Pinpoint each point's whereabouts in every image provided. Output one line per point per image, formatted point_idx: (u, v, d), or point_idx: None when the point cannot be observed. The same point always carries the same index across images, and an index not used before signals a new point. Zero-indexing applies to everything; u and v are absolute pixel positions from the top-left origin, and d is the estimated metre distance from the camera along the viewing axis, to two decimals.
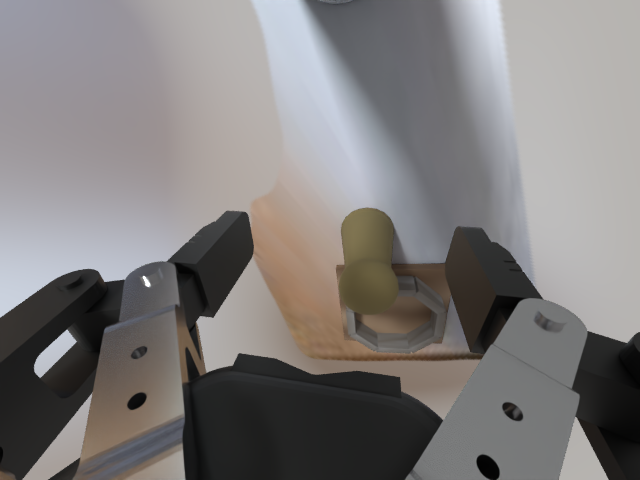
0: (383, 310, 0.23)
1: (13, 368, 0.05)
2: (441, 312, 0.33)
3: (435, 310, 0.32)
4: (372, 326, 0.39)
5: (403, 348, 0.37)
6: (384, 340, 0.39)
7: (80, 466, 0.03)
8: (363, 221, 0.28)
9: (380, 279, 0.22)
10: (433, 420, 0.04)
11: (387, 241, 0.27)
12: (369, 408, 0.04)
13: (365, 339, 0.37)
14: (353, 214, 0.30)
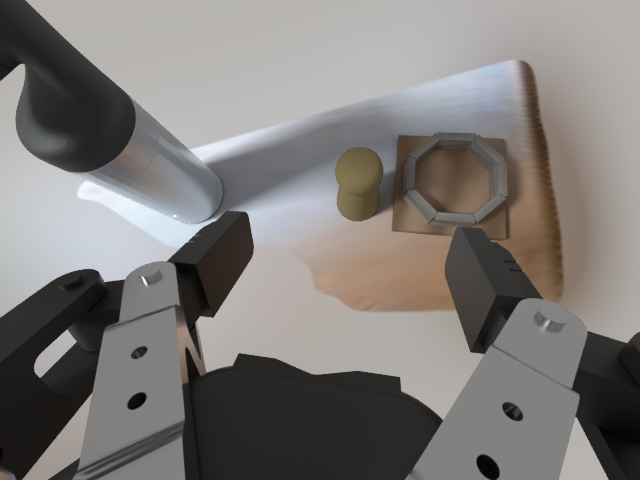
0: (372, 154, 0.28)
1: (13, 368, 0.05)
2: (438, 136, 0.36)
3: (434, 141, 0.36)
4: (477, 204, 0.36)
5: (498, 168, 0.34)
6: (493, 190, 0.35)
7: (80, 466, 0.03)
8: None
9: (341, 157, 0.29)
10: (433, 420, 0.04)
11: None
12: (369, 408, 0.04)
13: (483, 206, 0.33)
14: (338, 207, 0.38)
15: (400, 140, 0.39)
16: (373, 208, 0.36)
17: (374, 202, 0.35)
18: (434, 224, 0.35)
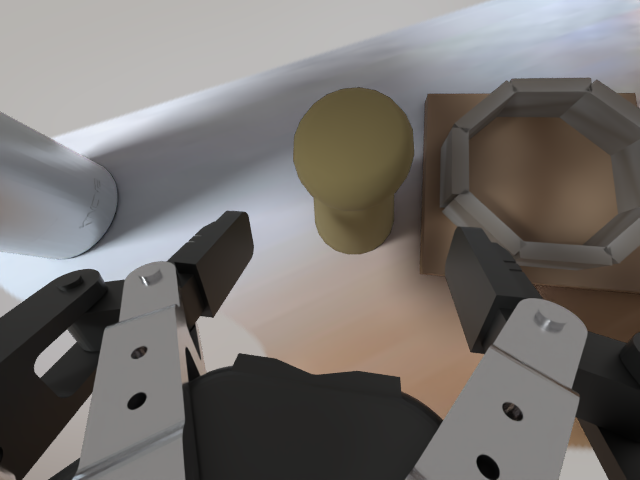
0: (386, 103, 0.11)
1: (13, 368, 0.05)
2: (512, 86, 0.18)
3: (505, 95, 0.18)
4: (595, 222, 0.18)
5: None
6: (635, 192, 0.17)
7: (80, 466, 0.03)
8: None
9: (306, 113, 0.11)
10: (433, 420, 0.04)
11: None
12: (369, 408, 0.04)
13: (627, 227, 0.15)
14: (317, 229, 0.21)
15: (430, 102, 0.21)
16: (384, 231, 0.18)
17: (386, 221, 0.17)
18: None
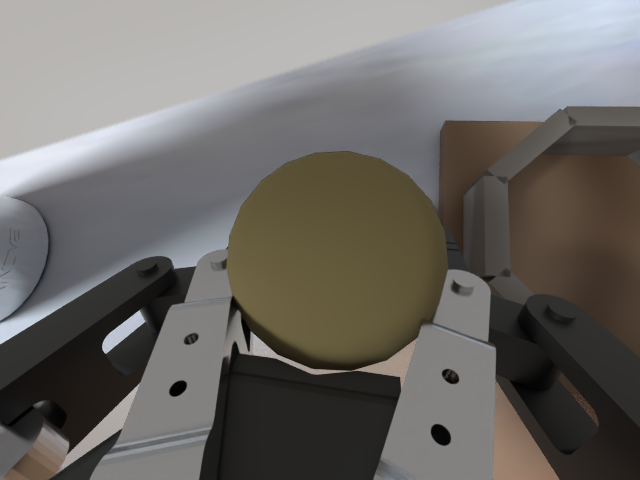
0: (395, 189, 0.05)
1: (85, 343, 0.06)
2: (568, 117, 0.13)
3: (559, 130, 0.13)
4: None
5: None
6: None
7: (120, 438, 0.04)
8: None
9: (249, 197, 0.06)
10: None
11: None
12: (369, 408, 0.04)
13: None
14: None
15: (449, 132, 0.16)
16: None
17: None
18: None
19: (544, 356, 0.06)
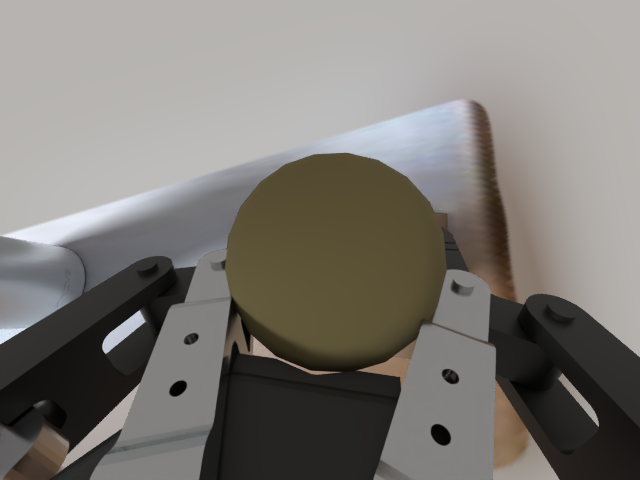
0: (394, 191, 0.05)
1: (85, 343, 0.06)
2: None
3: None
4: None
5: None
6: None
7: (119, 438, 0.04)
8: None
9: (248, 198, 0.06)
10: None
11: None
12: (369, 408, 0.04)
13: None
14: None
15: None
16: None
17: None
18: None
19: (544, 356, 0.06)
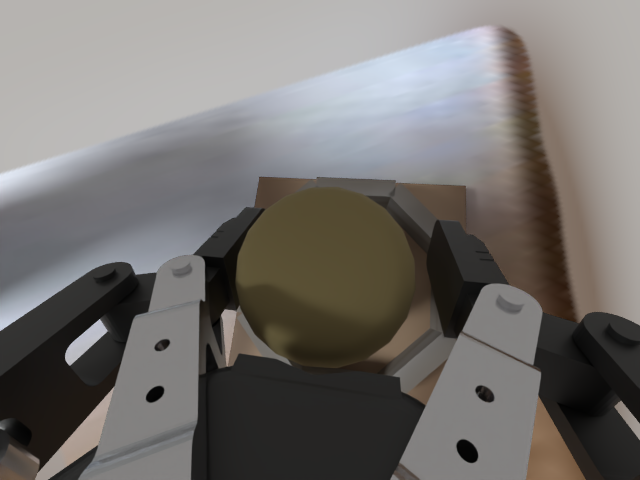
0: (372, 223, 0.07)
1: (46, 355, 0.06)
2: (317, 185, 0.16)
3: None
4: (405, 336, 0.16)
5: None
6: (436, 312, 0.15)
7: (97, 453, 0.03)
8: None
9: (255, 224, 0.08)
10: None
11: None
12: (369, 408, 0.04)
13: (405, 364, 0.14)
14: None
15: (260, 187, 0.19)
16: None
17: None
18: None
19: (606, 381, 0.05)
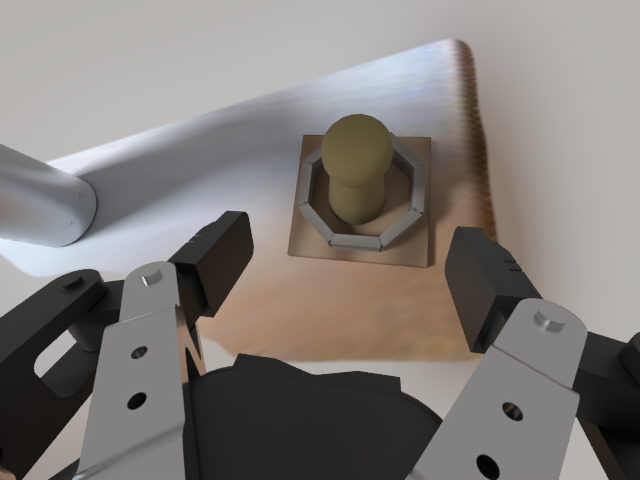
0: (376, 124, 0.18)
1: (13, 368, 0.05)
2: None
3: None
4: (393, 222, 0.28)
5: (414, 175, 0.26)
6: (410, 203, 0.27)
7: (80, 466, 0.03)
8: None
9: (330, 128, 0.19)
10: (433, 420, 0.04)
11: None
12: (369, 408, 0.04)
13: (392, 225, 0.25)
14: (330, 206, 0.28)
15: (304, 141, 0.31)
16: (377, 207, 0.26)
17: (379, 199, 0.25)
18: (337, 248, 0.27)
19: None
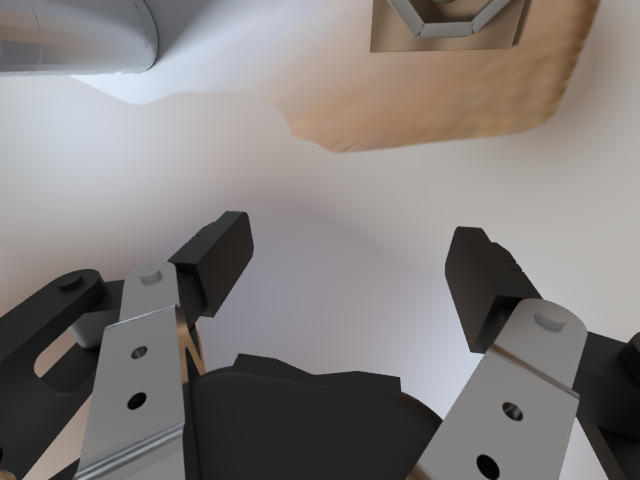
0: None
1: (13, 368, 0.05)
2: None
3: None
4: None
5: None
6: None
7: (80, 466, 0.03)
8: None
9: None
10: (433, 420, 0.04)
11: None
12: (369, 408, 0.04)
13: (490, 3, 0.24)
14: None
15: None
16: None
17: None
18: (422, 38, 0.28)
19: None
